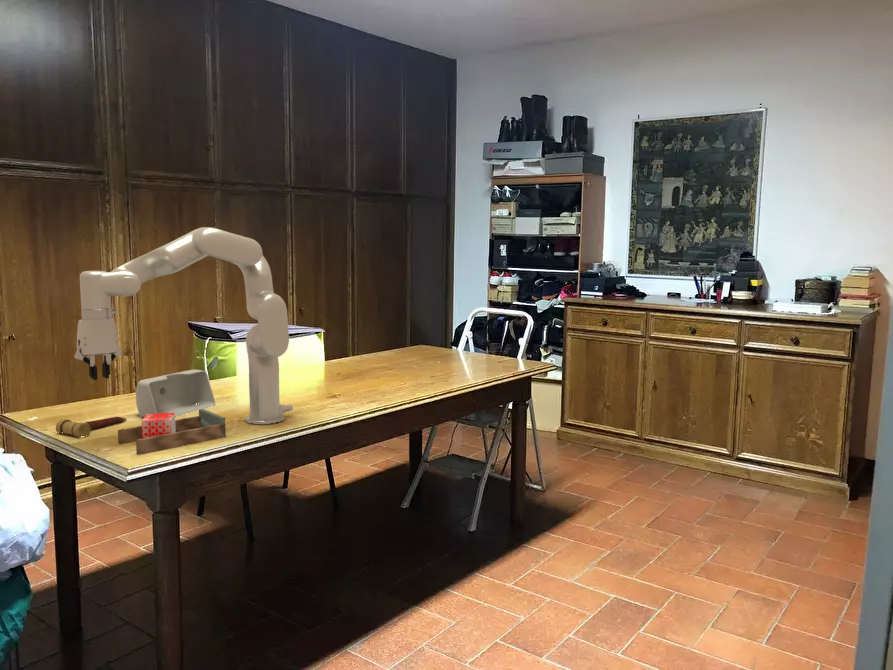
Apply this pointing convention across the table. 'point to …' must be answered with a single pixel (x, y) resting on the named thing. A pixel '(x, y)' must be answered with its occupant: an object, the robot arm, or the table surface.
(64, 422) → the gavel
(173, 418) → the red patterned cube
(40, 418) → the table surface
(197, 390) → the grey open box shell
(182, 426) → the crate bay
